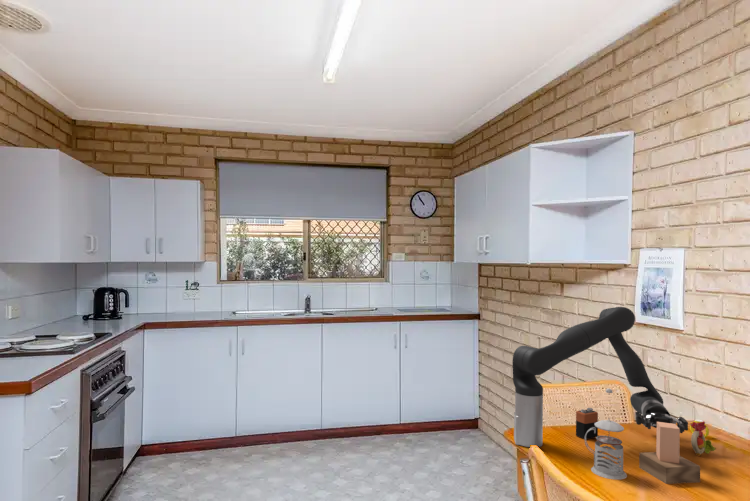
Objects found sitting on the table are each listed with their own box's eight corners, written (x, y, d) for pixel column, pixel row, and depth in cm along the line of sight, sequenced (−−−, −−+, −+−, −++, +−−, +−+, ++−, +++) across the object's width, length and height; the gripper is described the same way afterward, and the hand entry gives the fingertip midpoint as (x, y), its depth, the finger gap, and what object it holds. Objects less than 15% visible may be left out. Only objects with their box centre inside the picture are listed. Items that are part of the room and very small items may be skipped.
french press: (625, 482, 136) (626, 394, 137) (582, 472, 143) (582, 388, 144) (628, 470, 145) (628, 387, 146) (587, 461, 151) (587, 382, 152)
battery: (598, 437, 173) (598, 409, 174) (585, 440, 171) (585, 411, 171) (588, 433, 177) (588, 406, 178) (575, 436, 174) (575, 408, 175)
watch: (689, 435, 179) (688, 418, 180) (693, 434, 180) (692, 418, 181) (706, 439, 174) (704, 422, 174) (710, 438, 175) (709, 421, 175)
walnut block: (666, 485, 136) (665, 467, 136) (639, 469, 147) (639, 452, 147) (700, 483, 138) (700, 466, 138) (671, 467, 149) (671, 451, 149)
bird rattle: (709, 465, 156) (717, 448, 161) (704, 436, 154) (712, 420, 159) (687, 458, 161) (696, 442, 166) (682, 430, 158) (691, 415, 164)
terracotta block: (659, 460, 141) (660, 426, 142) (656, 454, 146) (656, 421, 146) (679, 463, 140) (679, 429, 140) (675, 457, 144) (675, 423, 145)
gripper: (631, 399, 165) (639, 412, 150) (679, 404, 160) (692, 418, 145) (631, 421, 165) (639, 436, 149) (679, 427, 159) (692, 443, 144)
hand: (665, 427), depth 147 cm, fingers open, 8 cm apart
